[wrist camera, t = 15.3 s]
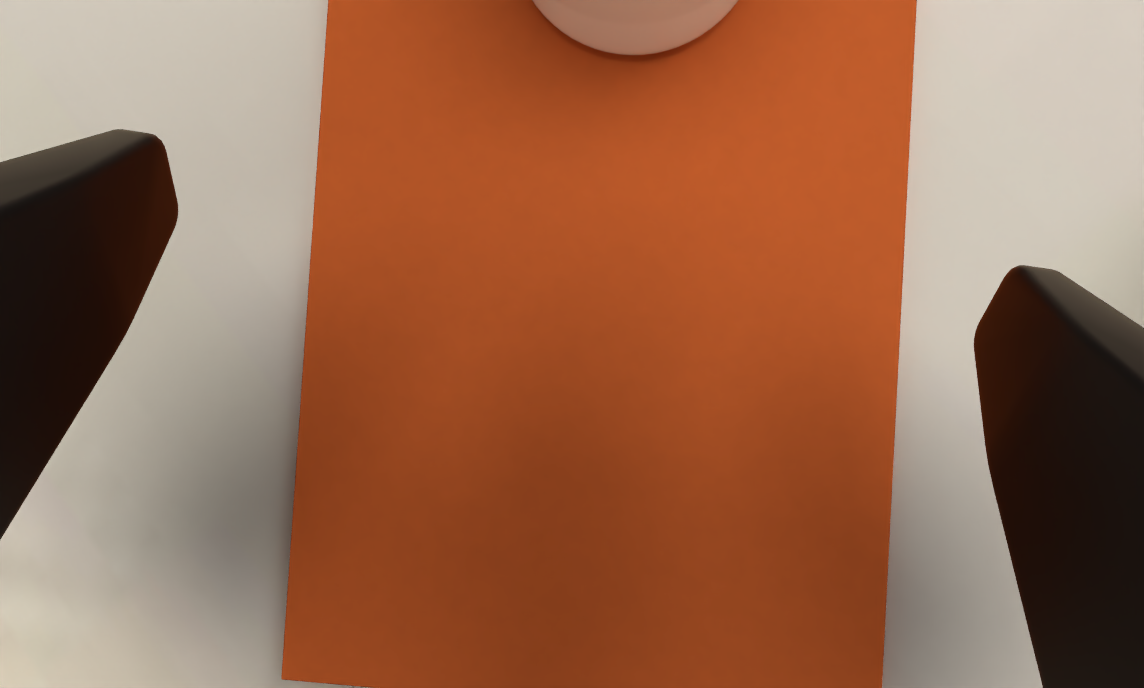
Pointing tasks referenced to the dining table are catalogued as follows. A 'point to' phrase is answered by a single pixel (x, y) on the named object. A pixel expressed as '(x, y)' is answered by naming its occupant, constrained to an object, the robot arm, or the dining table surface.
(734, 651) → the cloth
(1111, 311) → the robot arm
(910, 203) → the dining table surface
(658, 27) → the drinking glass
